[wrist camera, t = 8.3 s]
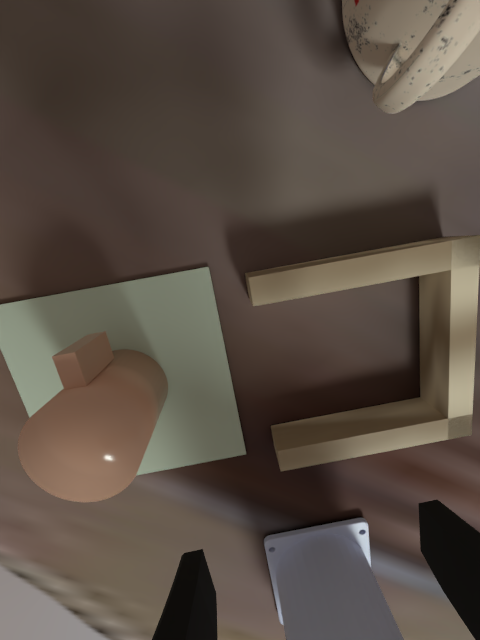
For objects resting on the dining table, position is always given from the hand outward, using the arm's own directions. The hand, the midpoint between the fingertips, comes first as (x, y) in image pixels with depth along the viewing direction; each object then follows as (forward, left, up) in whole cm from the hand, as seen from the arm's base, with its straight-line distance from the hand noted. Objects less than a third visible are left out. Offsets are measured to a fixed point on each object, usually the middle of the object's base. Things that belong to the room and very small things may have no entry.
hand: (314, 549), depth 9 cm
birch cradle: (+2, -6, -10) cm, 12 cm away
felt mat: (+2, +9, -10) cm, 13 cm away
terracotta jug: (+3, +9, -10) cm, 13 cm away
